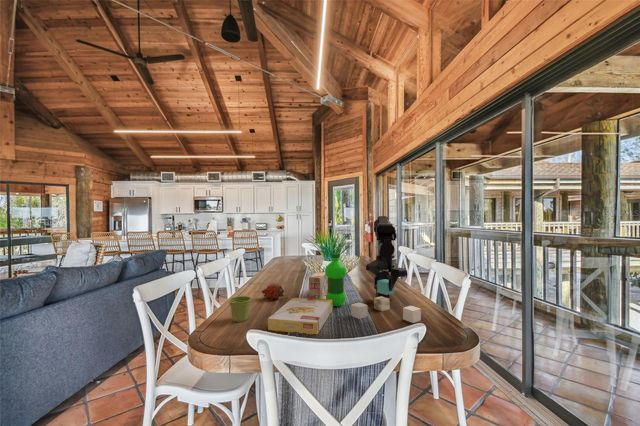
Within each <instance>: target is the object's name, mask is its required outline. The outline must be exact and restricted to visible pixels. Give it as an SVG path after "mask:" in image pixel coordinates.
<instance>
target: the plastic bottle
mask: <svg viewBox="0 0 640 426" xmlns="http://www.w3.org/2000/svg"><path fill="white" fill-rule="evenodd" d="M330 257H331V259H332V261H330V262H329V263H328V264H327V265H326V266H325V269H324V273H325V274H326V276H327V277H328V292H327V295H326V296H325V299H332V301H333V307H334V306H339V307H341V306H342V305H343V304H344V303H345V301H346V299H347V295H346V293H345V290H344V289H345V279H344V278H345V276H346V274H347V267H346V265H344V263H342V262H341V261H340V258H341V254H340V253H339V252H337V253H336V252H335V253H331V254H330ZM340 305H341V306H340Z"/></svg>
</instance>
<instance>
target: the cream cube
mask: <svg viewBox="0 0 640 426" xmlns="http://www.w3.org/2000/svg"><path fill="white" fill-rule="evenodd" d="M421 310H422V309H421V308H419V307H417V306H413V305H408V306H405V307H403V308H402V313H403V314H402V318H403V319H402V320H404V321H405V322H409V323H412V324H414V323H415V324H416V323H418V322H420V321H421V320H422V316H421V315H422V311H421Z"/></svg>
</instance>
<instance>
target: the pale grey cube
mask: <svg viewBox="0 0 640 426" xmlns="http://www.w3.org/2000/svg"><path fill="white" fill-rule="evenodd" d="M350 316H351V317H353V318H355V319H358V320H361V319H363V318H367V317H368V305H367V304H365V303H362V302H359V301H358V302H355V303H351V304H350Z"/></svg>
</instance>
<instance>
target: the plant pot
mask: <svg viewBox="0 0 640 426" xmlns="http://www.w3.org/2000/svg"><path fill="white" fill-rule="evenodd" d="M251 301H252V297H251V296H246V295H239V296H234V297H231V298H229V299H228V303H229V306H230V311H231V317H232V322H237V323H242V322H245V321H246V320H248V318H249V310H250V303H251Z"/></svg>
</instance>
